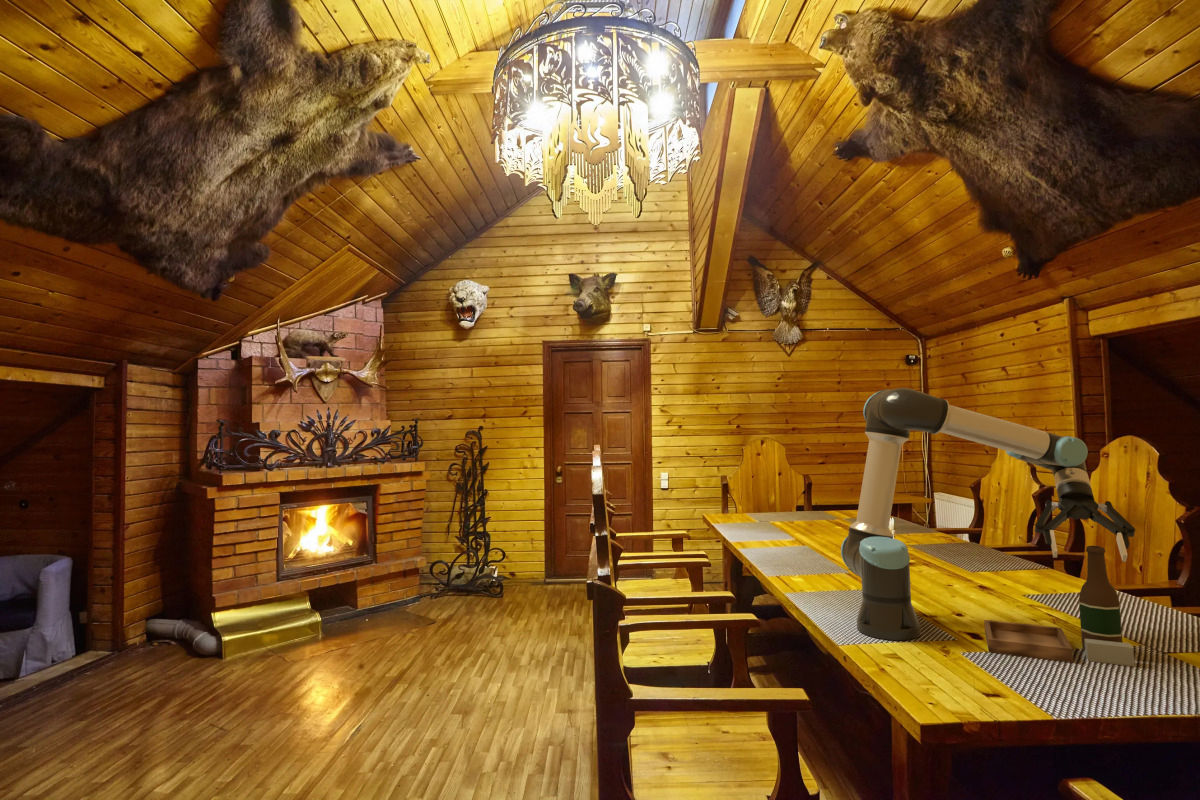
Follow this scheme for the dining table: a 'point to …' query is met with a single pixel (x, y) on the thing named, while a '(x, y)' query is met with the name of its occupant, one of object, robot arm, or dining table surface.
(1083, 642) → the beer bottle
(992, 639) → the tray
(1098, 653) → the block
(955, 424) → the robot arm
